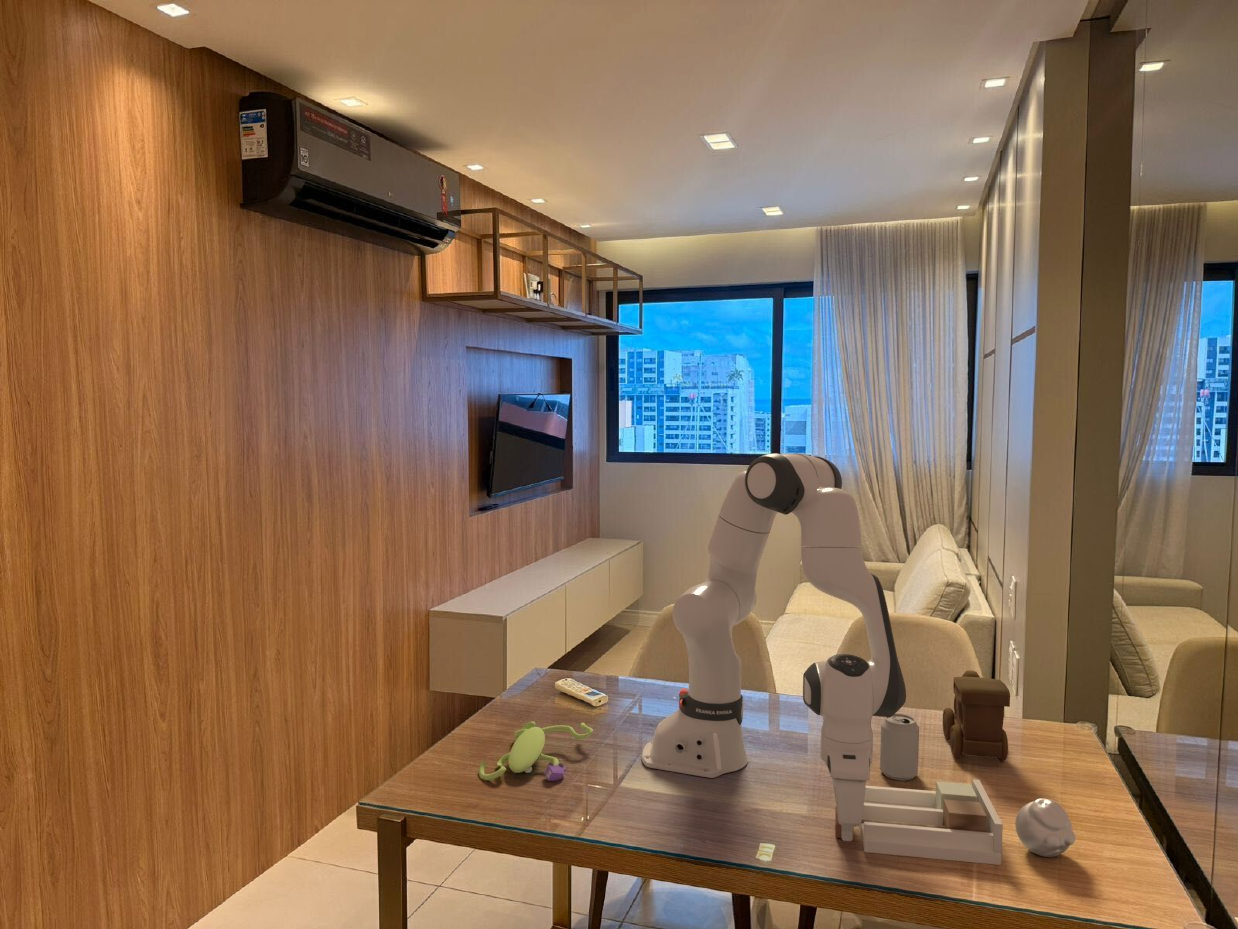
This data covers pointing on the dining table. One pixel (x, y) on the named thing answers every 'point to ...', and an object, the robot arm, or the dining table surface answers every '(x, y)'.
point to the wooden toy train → (977, 717)
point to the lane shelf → (926, 839)
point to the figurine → (533, 752)
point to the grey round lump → (1044, 828)
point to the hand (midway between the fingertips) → (844, 825)
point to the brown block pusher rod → (945, 817)
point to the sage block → (953, 793)
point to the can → (899, 747)
